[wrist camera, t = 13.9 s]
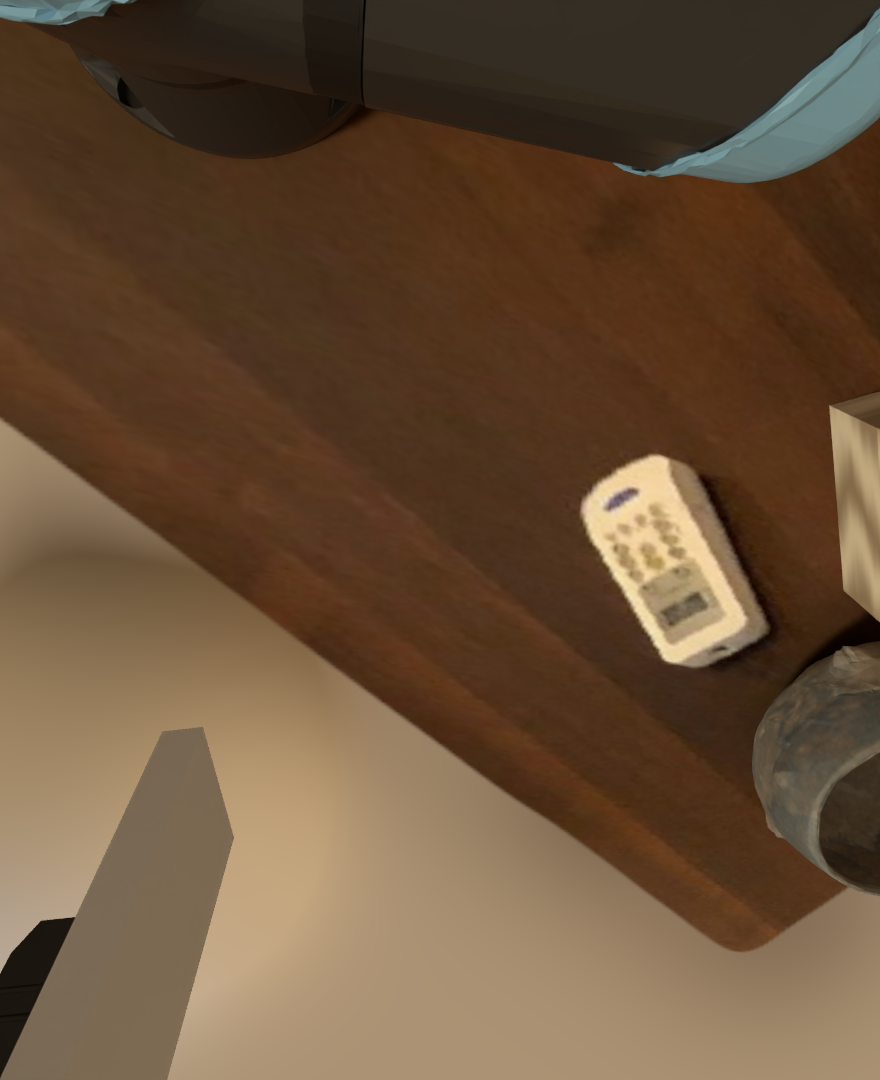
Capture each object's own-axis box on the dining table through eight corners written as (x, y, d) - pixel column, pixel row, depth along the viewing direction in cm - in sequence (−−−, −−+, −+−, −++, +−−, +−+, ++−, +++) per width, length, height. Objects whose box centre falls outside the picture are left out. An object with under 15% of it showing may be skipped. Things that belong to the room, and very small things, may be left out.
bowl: (994, 666, 49) (1128, 770, 40) (832, 825, 54) (918, 950, 45) (836, 569, 46) (943, 659, 37) (679, 748, 51) (739, 867, 42)
